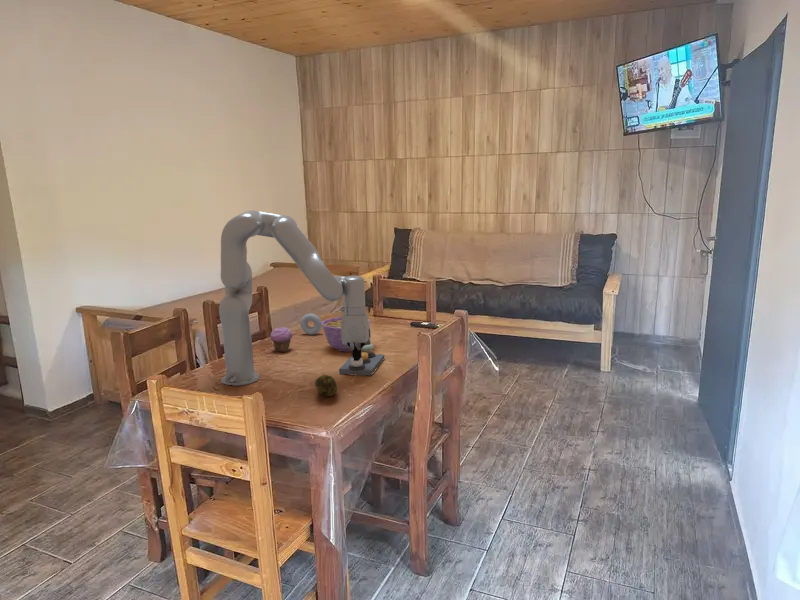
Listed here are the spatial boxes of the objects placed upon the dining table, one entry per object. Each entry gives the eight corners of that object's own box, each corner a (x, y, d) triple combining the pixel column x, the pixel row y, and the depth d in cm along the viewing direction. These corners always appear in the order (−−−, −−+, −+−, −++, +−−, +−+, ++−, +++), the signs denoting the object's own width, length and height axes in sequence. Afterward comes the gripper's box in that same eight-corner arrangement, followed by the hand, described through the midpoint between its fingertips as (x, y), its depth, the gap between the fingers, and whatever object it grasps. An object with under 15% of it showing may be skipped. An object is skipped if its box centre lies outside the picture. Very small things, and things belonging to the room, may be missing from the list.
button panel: (370, 376, 201) (370, 369, 200) (338, 374, 204) (338, 367, 203) (384, 359, 220) (384, 352, 219) (355, 357, 223) (355, 351, 222)
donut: (299, 335, 256) (298, 314, 254) (301, 333, 259) (300, 312, 257) (321, 335, 255) (320, 314, 253) (323, 333, 258) (322, 312, 256)
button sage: (371, 351, 215) (371, 346, 214) (360, 351, 216) (360, 346, 215) (374, 348, 219) (374, 343, 219) (363, 347, 220) (363, 342, 220)
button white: (360, 367, 202) (360, 361, 201) (349, 366, 203) (349, 361, 202) (364, 363, 206) (364, 358, 206) (352, 362, 207) (352, 357, 207)
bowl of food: (377, 352, 229) (377, 324, 227) (330, 358, 222) (328, 330, 220) (362, 339, 247) (361, 314, 245) (318, 345, 240) (316, 319, 238)
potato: (344, 389, 190) (343, 366, 188) (334, 404, 177) (333, 380, 175) (320, 388, 191) (319, 366, 189) (309, 403, 178) (307, 379, 177)
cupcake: (267, 353, 231) (266, 329, 229) (277, 347, 239) (275, 324, 237) (287, 354, 229) (286, 330, 227) (296, 348, 237) (295, 325, 235)
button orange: (366, 361, 209) (366, 356, 208) (355, 360, 210) (354, 355, 209) (369, 357, 213) (369, 352, 212) (358, 356, 214) (358, 351, 213)
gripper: (331, 312, 198) (334, 362, 202) (372, 313, 195) (374, 364, 199) (338, 307, 205) (340, 355, 209) (377, 308, 202) (379, 357, 206)
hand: (357, 359), depth 204 cm, fingers closed
